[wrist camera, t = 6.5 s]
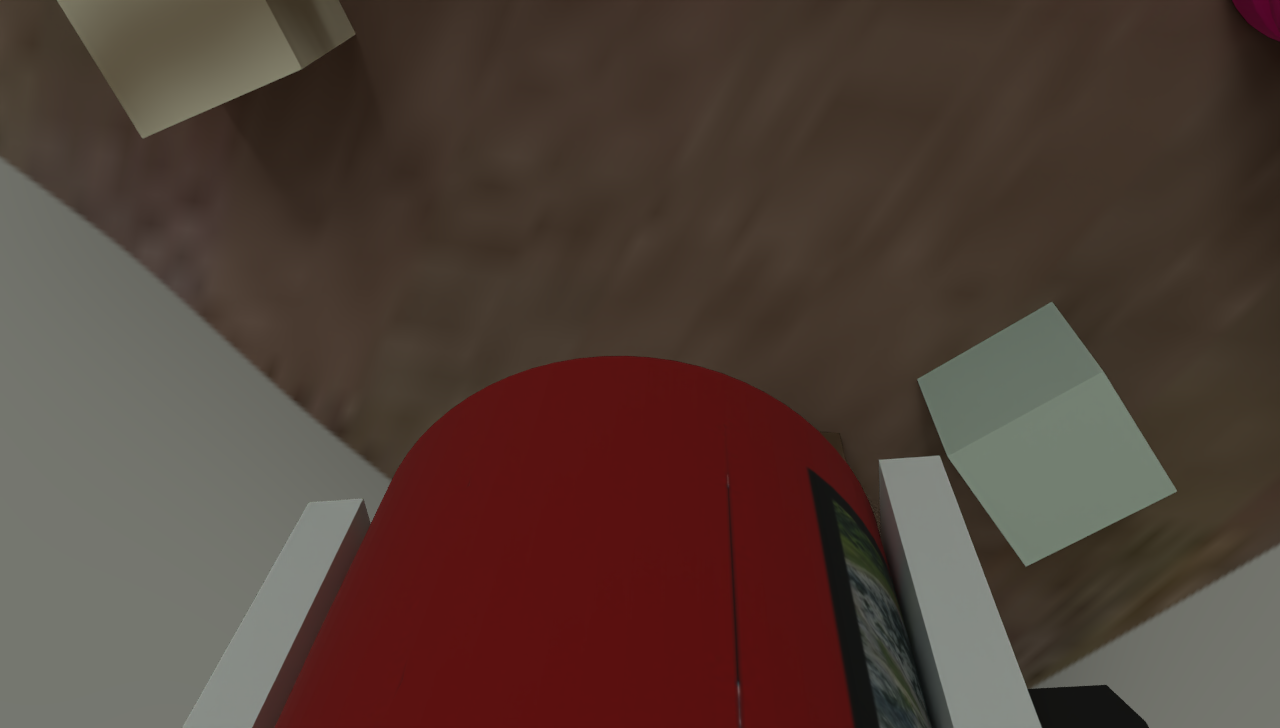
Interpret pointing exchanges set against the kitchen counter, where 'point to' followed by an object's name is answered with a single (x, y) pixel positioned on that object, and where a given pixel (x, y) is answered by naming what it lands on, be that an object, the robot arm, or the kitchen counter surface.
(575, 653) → the beverage can
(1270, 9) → the pepper mill
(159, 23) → the cube beech
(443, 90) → the kitchen counter surface
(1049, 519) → the cube sage
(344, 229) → the kitchen counter surface
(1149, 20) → the kitchen counter surface
